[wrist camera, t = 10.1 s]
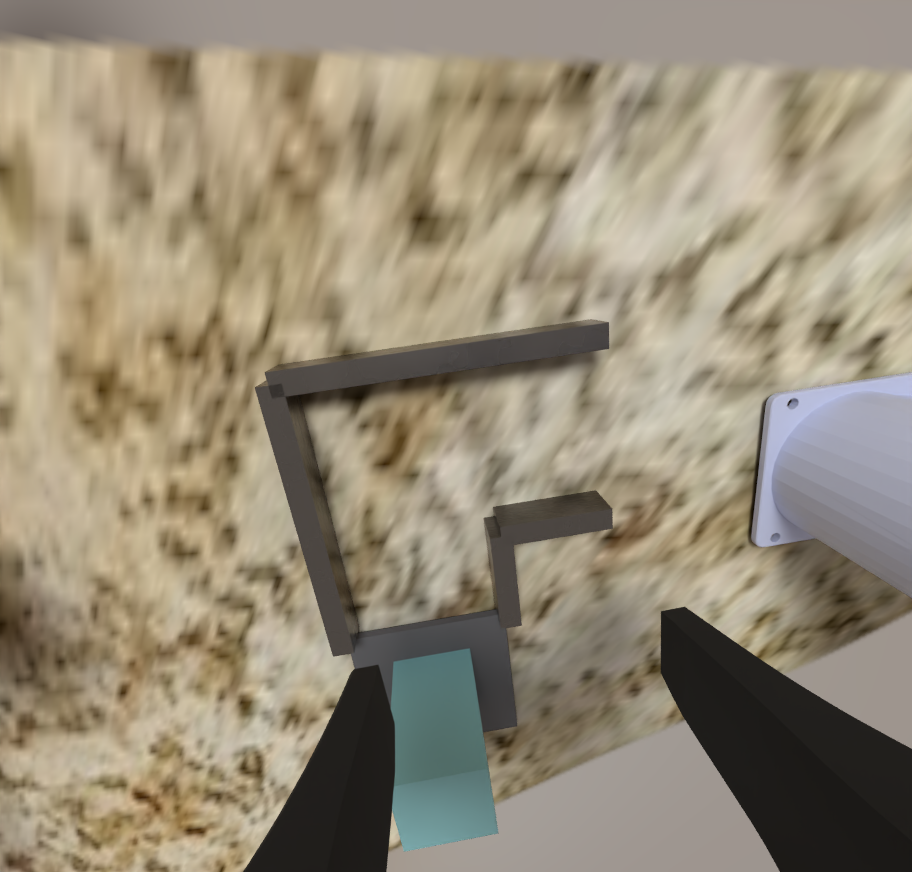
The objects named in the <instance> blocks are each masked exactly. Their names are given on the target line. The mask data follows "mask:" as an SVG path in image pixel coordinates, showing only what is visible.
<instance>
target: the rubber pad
mask: <svg viewBox="0 0 912 872" xmlns="http://www.w3.org/2000/svg"><path fill="white" fill-rule="evenodd" d="M468 648H470V652H471V659H472V665H473V671H474V677H475V684H476V690H477V696H478V702H479V709H480V716H481V722H482V729H483V732H488V731H493V730H499V729H504V728H510V727H515V726H517V718H516V710H515V701H514V693H513V684H512V676H511V667H510V659H509V650H508V642H507V633H506V628H504V629H501V627H500V623H499V619H498V615H497V611H496V609H495V610H489V611H484V612H478V613H472V614H466V615H460V616H454V617H449V618H443V619H437V620H431V621H425V622H419V623H413V624H408V625H402V626H396V627H390V628H384V629H378V630H373V631H367V632H361V633H358V635H357V641H356V647H355V653H351V656H352V660H353V663H354V667H355V669H357V668H363V667H368V666H373V665H379V668H380V672H381V675H382V679H383V683H384V686H385V690H386V693H387V697H388V701H389V704H390V708H391V696H392V680H393V663H394V662H395V661H400V660H406V659H412V658H417V657H423V656H429V655H434V654H440V653H446V652H451V651H457V650H463V649H468Z"/></svg>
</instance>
